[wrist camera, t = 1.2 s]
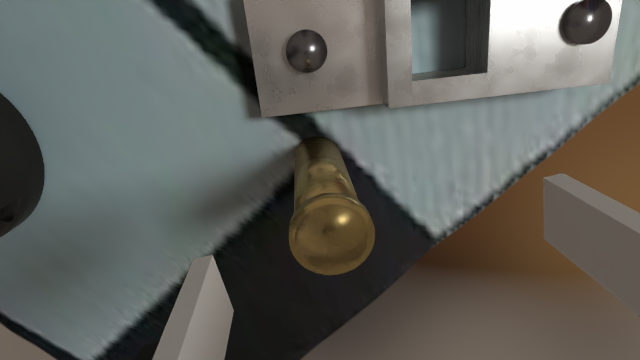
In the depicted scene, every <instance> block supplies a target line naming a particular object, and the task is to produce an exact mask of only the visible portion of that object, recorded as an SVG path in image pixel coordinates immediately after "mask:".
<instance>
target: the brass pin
mask: <svg viewBox="0 0 640 360" xmlns="http://www.w3.org/2000/svg"><path fill="white" fill-rule="evenodd" d="M374 240H375V230H374V225H373V222H372V220H371V217H370V215H369V213H368V211H367V210H366V208H365V207H364V206H363V205H362V204H361V203H360V202H359V201H358V199H357V196H356V193H355V191H354V188H353V185H352V183H351V180H350V177H349V175H348V172H347V169H346V167H345V164H344V161H343V159H342V156H341V153H340V151H339V149H338V147H337V145H336V144H335V143H334V142H333V141H331V140H330V139H328V138H325V137H321V136H315V137H311V138H308V139H306V140H305V141H303V142H302V143H301V144H300V145H299V147H298V148H297V150H296V153H295V213H294V215H293V216H292V219H291V222H290V226H289V244H290V249H291V251H292V253H293V255H294V257H295V258H296V260H297V261H298V262H299V263H300V264H301V265H302V266H304V267H305V268H307V269H308V270H310V271H313V272H315V273H319V274H324V275H336V274H342V273H345V272H348V271H350V270H352V269H354V268H356V267H357V266H359V265H360V264H361V263H362V262H363V261H364V260H365V259H366V258H367V257H368V255H369V254H370V252H371V250H372V248H373V245H374Z"/></svg>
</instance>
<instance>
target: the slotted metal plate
mask: <svg viewBox="0 0 640 360" xmlns="http://www.w3.org/2000/svg"><path fill="white" fill-rule="evenodd" d="M243 2H244V8H245V14H246V21H247V27H248V33H249V39H250V46H251V52H252V58H253V65H254V71H255V77H256V84H257V90H258V96H259V103H260V109H261V115H262V118H264V117H272V116H281V115H290V114H298V113H307V112H316V111H324V110H333V109H342V108H350V107H359V106H368V105H376V104H384V105H385V106H387V107H388V108H396V107H405V106H414V105H422V104H431V103H440V102H448V101H457V100H466V99H474V98H483V97H492V96H500V95H509V94H518V93H526V92H535V91H543V90H552V89H561V88H569V87H578V86H587V85H595V84H604V83H609V81H610V74H611V68H612V62H613V55H614V49H615V43H616V36H617V30H618V24H619V17H620V11H621V5H622V0H467V11H466V46H465V68H460V69H452V70H443V71H434V72H425V73H417V74H412V54H411V1H410V0H243Z"/></svg>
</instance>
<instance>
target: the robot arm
mask: <svg viewBox="0 0 640 360" xmlns="http://www.w3.org/2000/svg"><path fill="white" fill-rule="evenodd" d="M43 186H44V163H43V158H42V154H41V150H40V147H39V144H38V142H37V140H36V137H35V135H34V133H33V131H32V130H31V128H30V126H29V125H28V123H27V122H26V120H25V119H24V118H23V116H22V115H21V114H20V112H19V111H18V110H17V109H16V108H15V107H14V106H13V104H12V103H11V102H10V101H9V100H8V99H6V98H5V97H4V96H3V95H2V94H1V93H0V237H2V236H3V235H5V234H6V233H8V232H9V231H11V230H12V229H14V228H15V227H16V226H18V225H19V224H21V223H22V222H23V221H24V220H25V219H27V217H28V216H29V215H30V214H31V213H32V212H33V210H34V209H35V207H36V206H37V204H38V202H39V200H40V197H41V194H42V191H43ZM544 239H545V240H546V241H547V242H549V243H550V244H551V245H552V246H554V247H555V248H556V249H557V250H559V251H560V252H561V253H562V254H563V255H565V256H566V257H567V258H568V259H570V260H571V261H572V262H573V263H574V264H576V265H577V266H578V267H579V268H580V269H582V270H583V271H584V272H586V273H587V274H588V275H589V276H590V277H591V278H593V279H594V280H595V281H596V282H598V283H599V284H600V285H601V286H603V287H604V288H605V289H606V290H607V291H609V292H610V293H611V294H612V295H613V296H615V297H616V298H617V299H619V300H620V301H621V302H622V303H623V304H625V305H626V306H627V307H628V308H630V309H631V310H632V311H633V312H634V313H635V314H637V315H638V316H639V317H640V213H638V212H636V211H634V210H632V209H630V208H628V207H626V206H625V205H623V204H621V203H619V202H617V201H615V200H613V199H611V198H609V197H607V196H606V195H603V194H602V193H600V192H598V191H596V190H594V189H592V188H590V187H588V186H586V185H584V184H583V183H581V182H579V181H577V180H575V179H573V178H571V177H569V176H567V175H565V174H563V173H562V174H558V175H553V176H549V177H545V178H544ZM233 311H234V310H233V308H232V305H231V302H230V300H229V297H228V294H227V292H226V289H225V286H224V284H223V281H222V279H221V276H220V273H219V271H218V268H217V265H216V263H215V260H214V257H213V255H210V256H205V257H201V258H197V259H193V261H192V264H191V266H190V269H189V271H188V274H187V276H186V279H185V281H184V283H183V286H182V288H181V291H180V293H179V296H178V298H177V300H176V303H175V305H174V308H173V310H172V313H171V315H170V317H169V320H168V322H167V325H166V327H165V330H164V332H163V334H162V337H161V339H160V342H155V343H151V344H147V345H145V346H144V347H143V348H142V350H141V351H140V352H139V353H138V354H137V355H136V356H135V358H134V359H133V360H224V357H225V352H226V347H227V342H228V337H229V332H230V326H231V321H232V316H233Z"/></svg>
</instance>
